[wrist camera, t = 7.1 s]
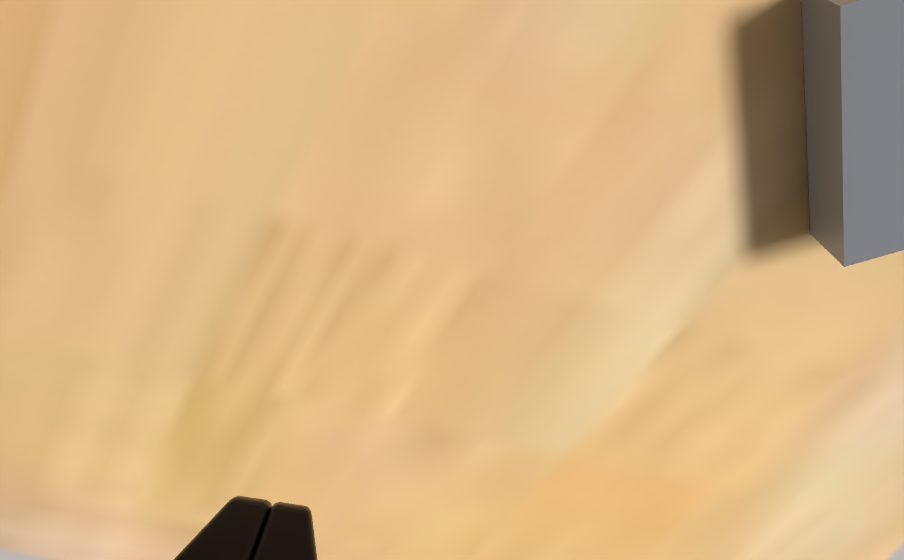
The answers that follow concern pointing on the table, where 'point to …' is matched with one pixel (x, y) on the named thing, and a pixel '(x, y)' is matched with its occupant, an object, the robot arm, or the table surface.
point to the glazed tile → (855, 125)
